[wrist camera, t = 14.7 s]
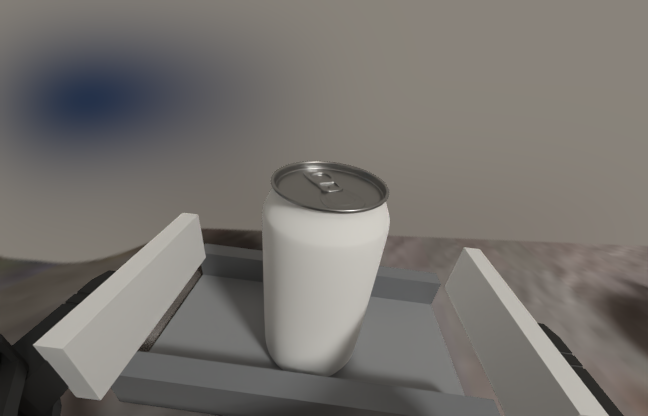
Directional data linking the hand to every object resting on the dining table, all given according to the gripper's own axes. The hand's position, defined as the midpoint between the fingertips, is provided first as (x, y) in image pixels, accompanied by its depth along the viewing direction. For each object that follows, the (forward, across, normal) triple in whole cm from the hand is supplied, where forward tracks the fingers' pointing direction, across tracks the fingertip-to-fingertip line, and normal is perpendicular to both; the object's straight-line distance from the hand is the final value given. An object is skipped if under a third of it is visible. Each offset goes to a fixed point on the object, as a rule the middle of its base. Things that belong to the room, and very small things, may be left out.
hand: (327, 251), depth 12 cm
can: (+1, 0, -9) cm, 9 cm away
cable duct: (+1, 0, -9) cm, 9 cm away
